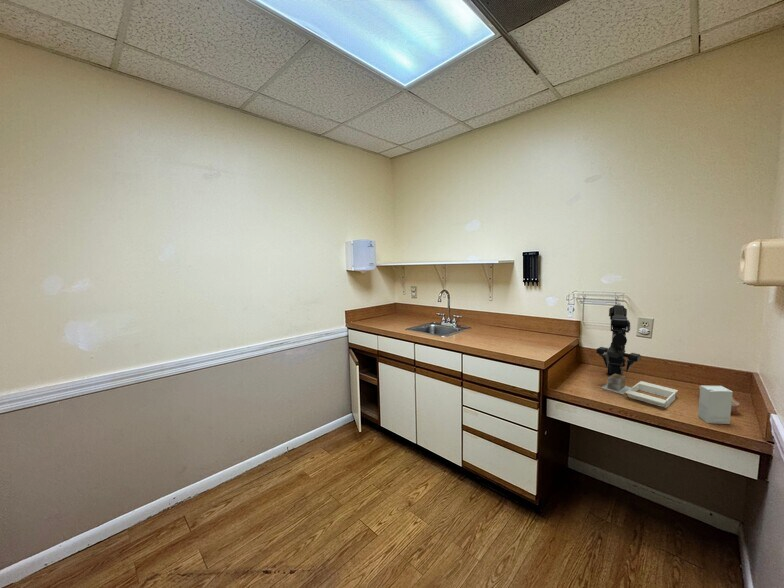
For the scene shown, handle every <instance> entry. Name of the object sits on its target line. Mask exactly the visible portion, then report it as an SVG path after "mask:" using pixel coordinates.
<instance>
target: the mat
mask: <svg viewBox="0 0 784 588" xmlns="http://www.w3.org/2000/svg"><path fill="white" fill-rule="evenodd" d="M607 387H608V383H606V384H604V385H603V386H601V387H600V388H601V389H603V390H605V391H610V392H613V393H616V394H620V395H624V394H626V393H625V392H626V391H628V390H629V389H630V388H632V386H627V385H625V387H624V388H622V389H621V390H619V391H615V390H612V389H608V388H607Z"/></svg>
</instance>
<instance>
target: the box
mask: <svg viewBox="0 0 784 588" xmlns="http://www.w3.org/2000/svg"><path fill="white" fill-rule="evenodd" d="M607 384H608V387H607V388H608V389H612V390H615V391H619V390H621V389H622V388H624V387H625V386H626V375H619V374H613V375H609V376H608V378H607Z"/></svg>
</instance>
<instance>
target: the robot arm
mask: <svg viewBox="0 0 784 588" xmlns="http://www.w3.org/2000/svg"><path fill="white" fill-rule="evenodd" d="M627 315H628V309H627V308H626V307H625V306H624V305H621V304H619V305H618V304H615V305H613V306H612V307H609V309H608V317H609V320H610V332H612V333H611V334H612V335H611V342H610V346H609V347H604V346H599V347H598V348H596V350H595V354H598V356H600V357H601V359H603V362H604V364H605V368H607V371H606V375H608V376H611V375H613V374H619V375H623V373H624V372H623V371H624V367H625V366H626V373H628V372H629V370H630V369H631V367H632V366H633V364H634V363H636V362H637V363H638V362H639V361H641V360H642V355H641V354H640V353H636V352H631V353H626V345H627V343H628V339H627V336H626V333H627V334H628V333H630V331H631V322H630V320H629V319H628V317H627ZM626 358H627V360H626ZM626 362H627V363H626ZM623 376H624V375H623Z"/></svg>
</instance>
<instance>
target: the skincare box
mask: <svg viewBox="0 0 784 588" xmlns="http://www.w3.org/2000/svg"><path fill="white" fill-rule="evenodd" d="M699 386H700V385H699ZM733 393H734V392H733V391H732V390H730V389H729V388H726V387H725V386H723V385H709V386H700V390H699V396H698V398H699V399H698V411H697V417H698V418H700V420H702V421H704V422H705V423H707V424H721V425H722V424H723V425H730V424H731V413H732V412H731V405H732V398H733Z"/></svg>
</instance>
